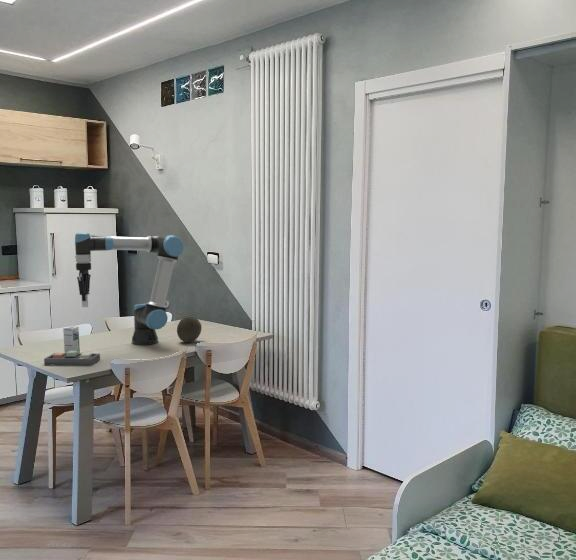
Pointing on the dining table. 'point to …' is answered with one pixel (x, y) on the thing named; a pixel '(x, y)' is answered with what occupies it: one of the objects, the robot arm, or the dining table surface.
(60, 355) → the terracotta key
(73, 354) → the sage key
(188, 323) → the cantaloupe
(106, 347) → the dining table surface
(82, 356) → the ivory key
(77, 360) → the base
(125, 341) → the dining table surface
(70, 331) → the syrup box
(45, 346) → the dining table surface
